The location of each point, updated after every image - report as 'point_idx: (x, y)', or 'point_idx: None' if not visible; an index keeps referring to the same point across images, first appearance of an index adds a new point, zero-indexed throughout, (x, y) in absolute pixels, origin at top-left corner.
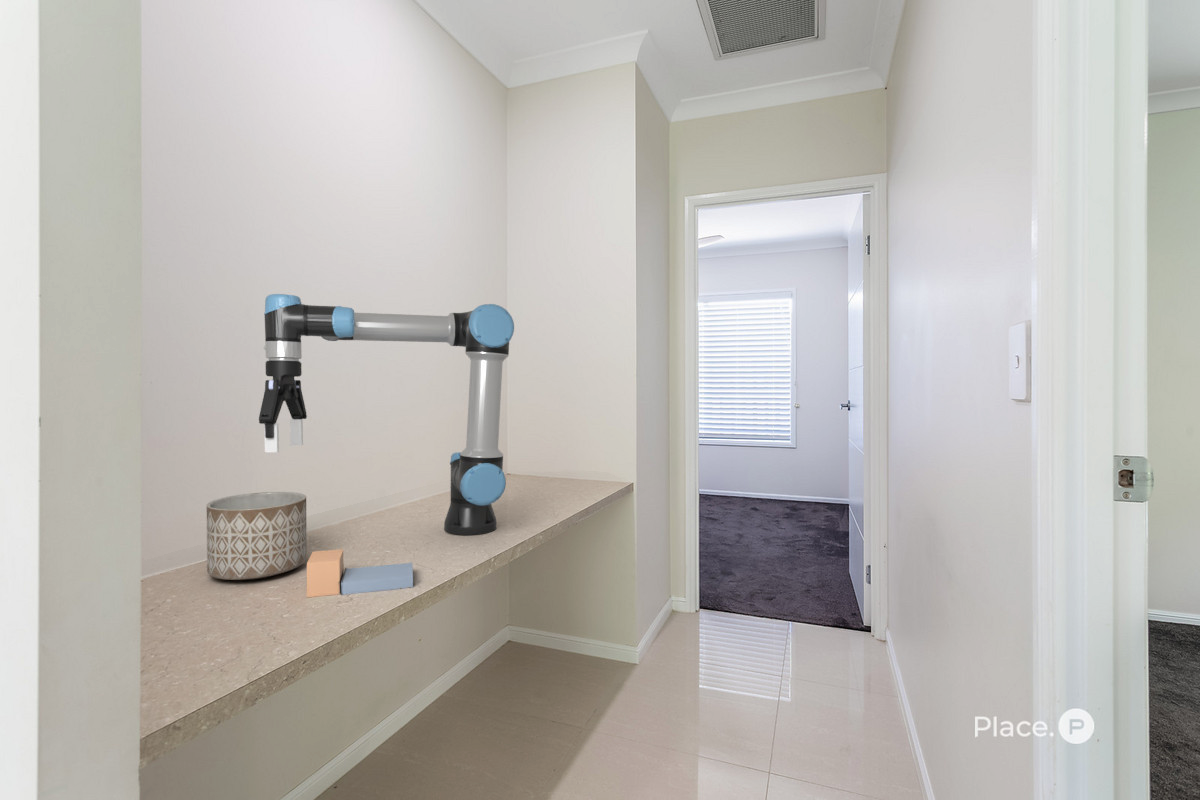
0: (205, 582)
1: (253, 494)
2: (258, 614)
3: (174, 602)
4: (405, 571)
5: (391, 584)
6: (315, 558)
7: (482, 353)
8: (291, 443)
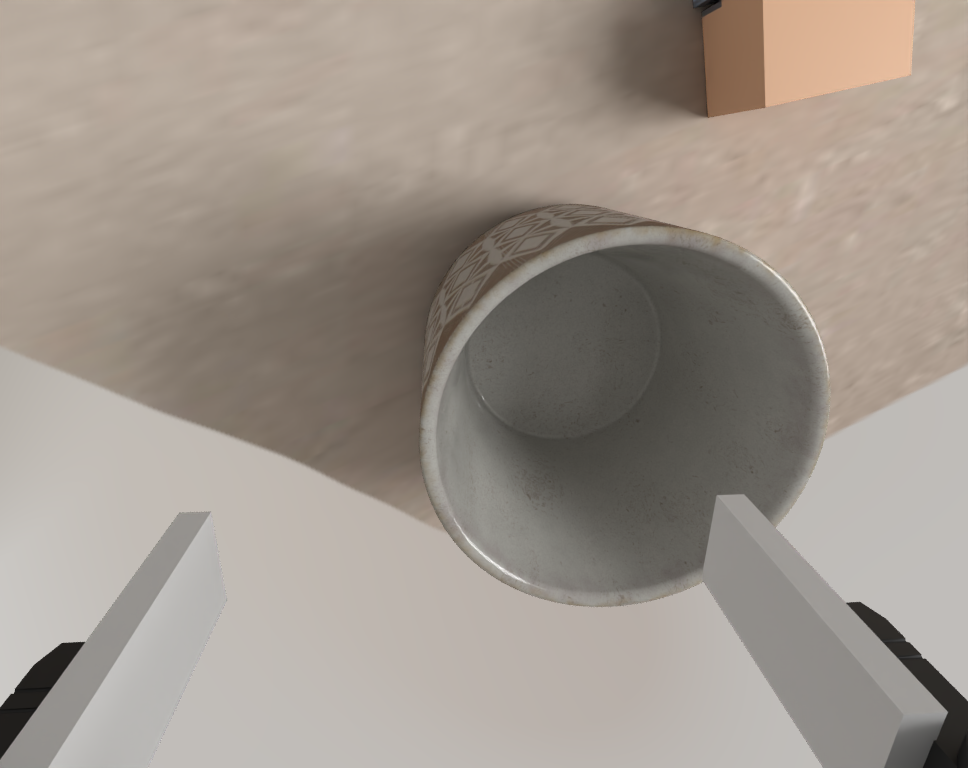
0: None
1: (463, 528)
2: (914, 185)
3: None
4: None
5: None
6: (861, 61)
7: None
8: (218, 603)
